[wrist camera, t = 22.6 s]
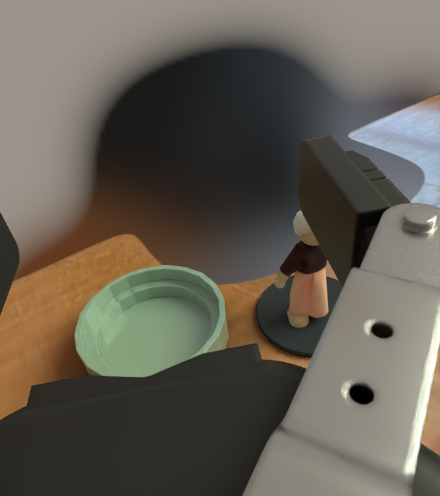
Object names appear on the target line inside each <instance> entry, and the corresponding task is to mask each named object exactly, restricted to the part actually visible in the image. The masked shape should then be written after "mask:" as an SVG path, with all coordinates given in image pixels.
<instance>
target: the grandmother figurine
mask: <svg viewBox="0 0 440 496" xmlns="http://www.w3.org/2000/svg"><path fill="white" fill-rule="evenodd" d="M293 225H294V231H295V233H296V234H298V235H299V237H300V239H301V240H302V241H300V242H299V243H297V244H296V245H295V247H294V248H293V250H292V251H291V252H290V254H289V255H288V257H287V258H286V260H285V261H284V263H283V264H282V265H281V267H280V271H279V273H278V275H277V278H276V279H275V281H274V285H275V286H276V287H277V288H283V287H284V286H285V281H287V280H288V278H289V276H290V275H291V274H292V273H294V272H295V277H294V280H293V283H292V287H291V291H290V306H289V309H288V311H287V315H288V318H289V322H290V324H291V325H292V326H293V327H296V328H302V327H305V326H307V325H308V323H309V318H308V316H309V315H310V316H312V317H315V318H320V317H323V316H325V315H326V314H327V313H328V311H329V309H328V299H327V285H326V272H325V271H326V266H327V258H326V256H325V254H324V253H323V251H322V249H321V247H320V245H319V243H318V242H317V240H316V238H315V236H314V234H313V232H312V231H311V229H310V227H309V225H308V223H307V221H306V220H305V218H304V216H303V214H302V211H300V212H298V213H297V215H296V217H295V219H294V221H293Z"/></svg>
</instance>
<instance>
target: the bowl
mask: <svg viewBox="0 0 440 496" xmlns="http://www.w3.org/2000/svg"><path fill="white" fill-rule="evenodd" d="M74 337H75V344H76V351H77V353H78V355H79V357H80V359H81V361H82V363H83V365H84V367H85V369H86V370H87V372H88V374H89V375H96V376H122V377H146V376H150V375H153V374H155V373H157V372H160V371H162V370H165V369H167V368H169V367H172V366H174V365H176V364H179V363H181V362H183V361H186V360H188V359H191V358H193V357H195V356H198V355H200V354H202V353H207V352H213V351H218V350H223V349H226V345H227V342H228V339H229V330H228V319H227V313H226V306H225V300H224V297H223V295H222V294H221V292H220V290H219V288H218V286H217V285H216V283H214V282H213V281H212V280H211V279H209V278H208V277H206V276H205V275H204V274H203V273H200V272H197V271H195V270H192V269H189V268H186V267H179V266H169V265H166V266H165V265H164V266H156V267H147V268H143V269H140V270H137V271H134V272H131V273H128V274H125V275H123V276H121V277H119V278H118V279H116V280H114V281H112V282H111V283H109V284H107V285H106V286H104V287H103V288H102V289H101V290H100V291H99V292H98V293H97V294H95V295H94V296H93V297H92V298H91V299H90V300H89V302H88V303H87V305H86V306H85V308H84V309H83V311H82V312H81V314H80V315H79V318H78V322H77V325H76V329H75V333H74Z"/></svg>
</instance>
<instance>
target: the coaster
mask: <svg viewBox="0 0 440 496" xmlns="http://www.w3.org/2000/svg"><path fill="white" fill-rule="evenodd" d="M294 277H295V275H293V276H289V278H288V280H287V281H285V286H284V287H283V288H277V287H276V286H275V285H274V284H272V285H271V286H270V287H268V288H267V289H266V290H265V291H264V293H263V294H262V296H261V297H260V299H259V302H258V305H257V320H258V324H259V326H260V329H261V331H262V332H263V334H264V335H265V336H266V337H267V339H268V340H269V341H271V342H272V343H273V344H274V345H276V346H277V347H279V348H280V349H282V350H284V351H287V352H289V353H292V354H295V355H299V356H306V357H312V356H313V353H314V351H315V349H316V347H317V344H318V342H319V340H320V338H321V335H322V333H323V331H324V329H325V326H326V324H327V322H328V320H329V318H330V315H331V313H332V311H333V309H334V306H335V304H336V302H337V300H338V297H339V295H340V293H341V291H342V288H343V287H342V285H341V284H340V282H339V281H338V280H336V279H333V278H330V277H327V276H326V285H327V299H328V309H329V311H328V313H327V314H326V315H325V316H323V317H320V318H315V317H312V316H310V315H309V316H308V318H309V323H308V325H307V326H305V327H302V328H296V327H293V326H292V325H291V324H290V322H289V318H288V315H287V311H288V309H289V306H290V291H291V287H292V283H293V280H294Z"/></svg>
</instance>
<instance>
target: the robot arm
mask: <svg viewBox="0 0 440 496" xmlns="http://www.w3.org/2000/svg"><path fill="white" fill-rule="evenodd" d="M298 179H299V181H298V185H299V186H298V189H299V190H298V195H299V203H300V208H301V211H302V214H303V216H304V218H305V220H306V221H307V223H308V225H309V227H310V229H311V231H312V232H313V234H314V236H315V238H316V240H317V242H318V243H319V245H320V247H321V249H322V251H323V253H324V254H325V256H326V258H327V260H328V262H329V264H330V265H331V267H332V269H333V271H334V273H335V274H336V276H337V278H338V280H339V282H340V284H341V285H342V287H343V288H342V291H341V293H340V295H339V297H338V300H337V302H336V304H335V306H334V309H333V311H332V313H331V315H330V318H329V320H328V322H327V324H326V326H325V329H324V331H323V333H322V335H321V338H320V340H319V342H318V344H317V347H316V349H315V351H314V353H313V356H312V358H311V360H310V362H309V365H308V367H307V369H305V368H303V367H300V366H298V365H294V364H290V363H286V362H281V361H274V360H262V359H261V355H260V352H259V348H258V344H257V343H255V344H249V345H244V346H239V347H234V348H228V349H223V350H218V351H213V352H207V353H202V354H200V355H198V356H195V357H193V358H191V359H188V360H186V361H183V362H181V363H179V364H176V365H174V366H172V367H169V368H167V369H165V370H162V371H160V372H157V373H155V374H153V375H150V376H146V377H122V376H96V375H86V376H81V377H76V378H71V379H65V380H60V381H55V382H50V383H44V384H39V385H34V386H31V391H30V395H29V399H28V403H27V406H26V407H23V408H21V409H19V410H17V411H15V412H13V413H12V414H10V415H8V416H6V417H5V418H3V419H1V420H0V496H440V456H439V455H438V454H436V453H435V452H433V451H432V450H430V449H429V448H427V447H426V446H424V445H423V444H421V438H422V432H423V427H424V422H425V417H426V412H427V406H428V401H429V396H430V391H431V385H432V380H433V375H434V370H435V364H436V359H437V354H438V349H439V344H440V208H438V207H435V206H431V205H427V204H420V203H411V202H410V201H409V200H408V199H407V198H406V197H405V196H404V195H403V194H402V193H401V192H400V191H399V190H398V189H397V188H396V187H395V185H394V184H393V183H392V182H391V181H390V180H389V179H386V176H385V175H384V174H383V173H382V172H381V171H380V170H378V168H377V167H376V166H375V165H374V164H373V162H371V160H370V159H369V158H367V157H365V156H363V155H361V154H358V153H356V152H354V151H346V152H345V151H344V150H343V149H342V148H341V147H340V146H339V145H338V144H337V142H336V141H335V140H334V139H333V138H332V137H331V136H323V137H317V138H311V139H305V140H301V141H300V144H299V178H298ZM18 265H19V251H18V246H17V244H16V241H15V239H14V238H13V236H12V234H11V232H10V230H9V228H8V226H7V224H6V222H5V221H4V219H3V217H2V215H1V213H0V315H1V312H2V309H3V307H4V304H5V301H6V298H7V296H8V293H9V290H10V287H11V285H12V282H13V279H14V276H15V274H16V271H17V268H18Z"/></svg>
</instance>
